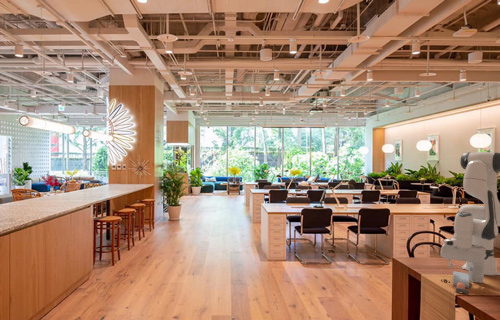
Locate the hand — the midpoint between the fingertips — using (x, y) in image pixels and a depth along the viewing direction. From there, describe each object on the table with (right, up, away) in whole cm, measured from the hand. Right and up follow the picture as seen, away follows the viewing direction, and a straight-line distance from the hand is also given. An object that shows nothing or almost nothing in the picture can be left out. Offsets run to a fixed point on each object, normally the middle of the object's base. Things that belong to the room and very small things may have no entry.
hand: (461, 268), depth 186 cm
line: (-7, -6, -11) cm, 15 cm away
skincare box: (+9, -7, +2) cm, 11 cm away
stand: (-9, -6, -2) cm, 11 cm away
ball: (-9, -3, -15) cm, 18 cm away
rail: (-11, -6, -18) cm, 22 cm away
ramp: (-2, -6, -3) cm, 8 cm away
